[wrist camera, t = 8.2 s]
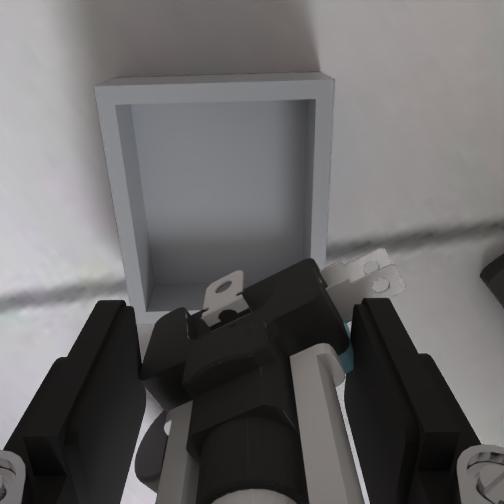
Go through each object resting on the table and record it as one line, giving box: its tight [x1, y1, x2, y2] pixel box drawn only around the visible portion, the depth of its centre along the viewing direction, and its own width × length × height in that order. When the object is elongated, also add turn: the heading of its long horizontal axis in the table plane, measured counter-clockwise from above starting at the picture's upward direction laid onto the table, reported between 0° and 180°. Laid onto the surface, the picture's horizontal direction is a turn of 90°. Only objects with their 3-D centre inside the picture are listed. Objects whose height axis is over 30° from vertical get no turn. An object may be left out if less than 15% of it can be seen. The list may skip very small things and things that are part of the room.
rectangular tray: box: [94, 72, 335, 324], centre depth 25 cm, size 11×13×4 cm
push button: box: [139, 247, 406, 504], centre depth 8 cm, size 7×5×10 cm
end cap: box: [135, 410, 168, 493], centre depth 32 cm, size 10×7×7 cm
